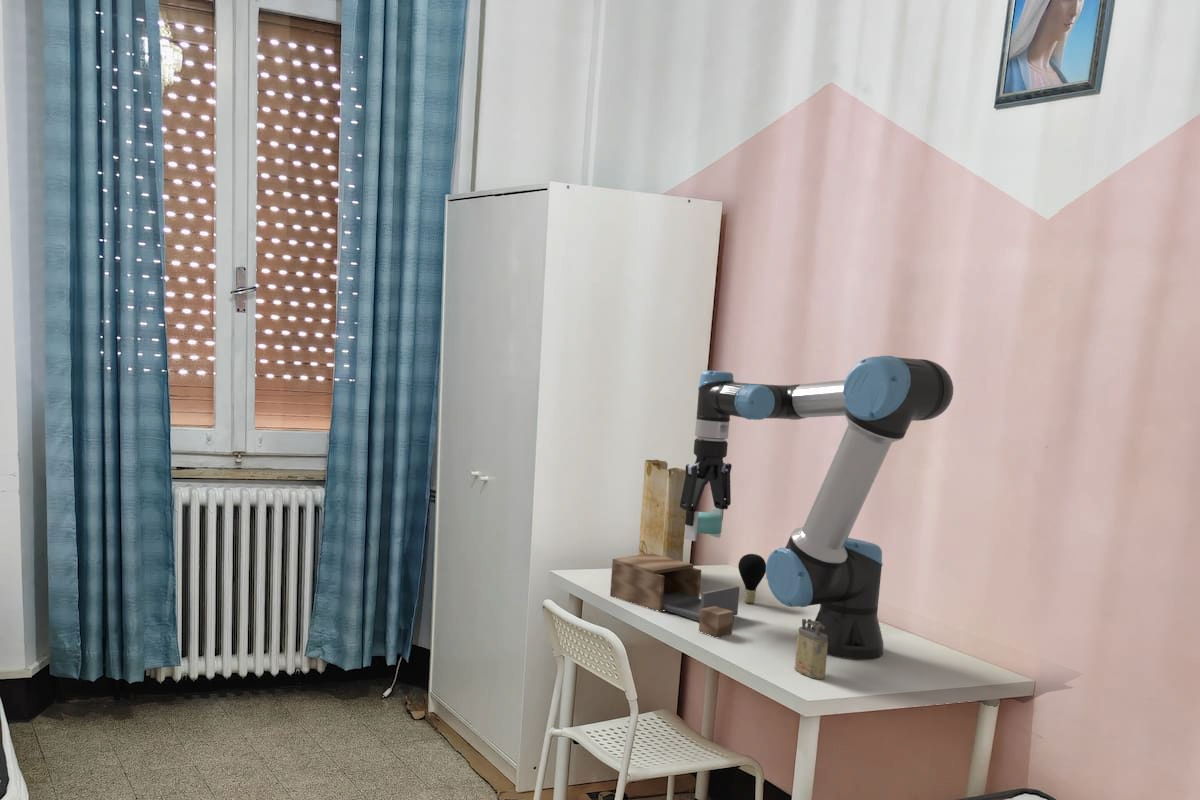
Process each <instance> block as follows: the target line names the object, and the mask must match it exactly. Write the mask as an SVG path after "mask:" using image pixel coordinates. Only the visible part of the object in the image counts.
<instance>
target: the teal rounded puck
mask: <svg viewBox="0 0 1200 800" xmlns="http://www.w3.org/2000/svg"><path fill="white" fill-rule="evenodd" d="M698 512H699V515H698V526H697V534H701V535H702V534H703V535H709V534H719V533H722V529H723V528H722V526H723V520H722V516H721V515H718V514H714V513H711V512H706V511H698Z"/></svg>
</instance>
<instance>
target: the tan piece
mask: <svg viewBox="0 0 1200 800" xmlns="http://www.w3.org/2000/svg"><path fill="white" fill-rule="evenodd" d="M668 465H669V464H668V462H667V461H665V460H659V459H647V460H645V461H644V473H643V483H642V484H643V486H642V497H641V498H642V499H641V510H640V512H641V513H640V525H639V529H640V530H639V540H638V541H639V542H638V555H644V554H651V553H653V554H657V555H660V556H664V557H668V558H671V559H675V560H679V561H683V559H684V544H685V532H686V524H685V520H686V510H683V509H682V508H680V502H681V497H682V492H683V487H684V481H685V476H686V469H684V468H679V467H671V468H668ZM683 562H684V561H683Z"/></svg>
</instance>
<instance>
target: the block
mask: <svg viewBox="0 0 1200 800" xmlns="http://www.w3.org/2000/svg"><path fill="white" fill-rule="evenodd" d="M698 622H699V624H698V632H699V631H700V632H703V633H706V634H709V635H711V636H710V637H712V636H714V637H713V638H715V637H719V638H722V636H724V637H726V635H728V636H732V635H731V634H732V633H733V623H734V616H733V611H730V610H727V609H724V608H720V607H717V606H713V607H708V608H703V609H700V621H698ZM700 632H699V633H700ZM703 633H702V634H703ZM706 634H705V635H706ZM709 635H708V636H709Z"/></svg>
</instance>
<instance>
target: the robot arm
mask: <svg viewBox="0 0 1200 800" xmlns="http://www.w3.org/2000/svg"><path fill="white" fill-rule="evenodd" d="M699 377H700V378H699V383H698V387H697V388H698V392H697V393H698V395H697V409H696V418H695V419H696V421H695V428H694V436H695V437H696V438H695V439H694V441H693V442H694V444H693V454H694V455H695V457H696V459H695V461H694V463H693V464H690V463H688V464H687V463H686V465H685V470H686V476H685V481H684V487H683V492H682V497H681V502H680V508H682V509H683V510H686V520H685V536H684V540H688V541H692V542H696V541H697V536H698V533H697V526H698V515H699V512H700V511H697V509H698V507H699V504H700V501H701V499H702V498H701V497H702V495H703V492H704V490H705V488H706V487H705V486H706V485H708V483H709V485H710V486H709V487H710V490H711V491H710V492H711V495H712V500H713V506H714V507H711V509H710V510H711V511H710V513H714V514H718V515H721V516H722V521H724V520H723V519H724V510H728V509H729V506H731V503H732V502H731V499H732V498H731V470H732V467H733V465H732V464H731V463H728V462H724V460H723V459H725V458H726V457H727V454H728V445H729V442H728V441H727V439H728V438H729V429H730V421H731V418H730V417H732V416H733V417H738V418H743V419H746V420H753V421H755V420H756V421H757V420H758V421H761V420H766V419H778V420H779V419H781V420H782V419H783V420H786V419H787V420H793V421H794V420H802V419H806V418H823V417H824V418H826V417H838V416H839V417H841V416H844V417H845V418H846V419H845V420H846V421H847V423H848V425H847V427H846V430H845V432H844V433H843V435H842V438H841V441H840V442H839V445H838V447H837V450H836V452H835V454H834V456H833V458H832V461H831V463H830V466H829V468H828V470H827V471H826V474H825V477H824V479H823V481H822V484H821V486H820V488H819V491H818V493H817V494H816V497H815V500H814V502H813V505H812V506H811V508H810V510H809V513H808V515H807V518H806V520H805V521H804V524H803V525H802V526H801V527H798V528H795V529H794V530H793V531H792V532H791V535H790V537H789V539H788V541H787V543H786V545H785V547H779V548H777V549H775V550H773V551H772V552H770V554H769V555H768V557H767V559H766V562H765V563H766V572H765V576H766V577H765V578H766V581H767V584H768V587H769V589H770V592H771V594H772V595H773V596H774V598H775V599H777V601H779V602H780V603H781V604H782V605H784V606H787V607H791V608H797V607H798V608H799V607H800V608H806V607H810V606H815V605H816V606H817V605H819V610H818V611H817V613H816V617H815V620H814V621H819V622H821V624H822V625H824V626H825V628H824V629H821V628H820V629H819V631H820V632H822V633H824V634H826V635H827V636H828V638H827V641H828V647H827V655H830V656H834V657H838V658H842V659H843V658H844V659H851V660H870V659H872V660H873V659H877V658H880V657H882V656H883V653H884V639H883V635H882V631H881V627H880V623H879V618H878V612H879V611H878V609H879V598H880V589H881V588H880V586H881V577H882V576H881V575H882V567H883V561H882V560H883V551H882V548H881V547H880V546H879V545H878V544H875V543H873V542H870V541H865V540H862V539H855V538H853V537H849V535H850V533H851V532H852V529H853V527H854V524H855V523H856V521H857V519H858V516H859V514H860V512H861V510H862V508H863V506H864V503H865V502H866V499H867V497H868V495H869V494H870V493H869V492H870V490H871V488H872V486H873V485H874V482H875V479H876V477H877V476H878V474H879V471H880V470H881V467H882V465H883V462H884V461H885V458H886V456H887V454H888V452H889V450H890V447H891V446H892V444H893V443H895V442H898V441H901V440H903V439H904V437H905V435H906V433H907V431H908V429H909V427H910V425H911V423H912V422H913V421H916V422H917V421H918V422H919V421H928V420H932V419H934V418H936V417H939V416H940V415H942V414H943V413H945V411H946V410H947V409H948V408H949V406H950V404H951V403H952V400H953V396H954V385H953V381H952V378H951V375H950V374H949V372H948V371H947V370H946V368H944V367H943V366H941V365H940V364H939V363H937V362H935V361H932V360H929V359H923V358H921V359H920V358H918V359H917V358H910V357H909V358H908V357H898V356H897V357H896V356H893V355H880V356H870V357H866V358H865V359H864V358H863V359H862V360H859V362H857V363H856V364H855V365H854V366H853V367H852V368H851V369H850V371H849V372H848V374H847V375H846V377H845V379H842V380H832V381H831V380H830V381H821V382H810V383H801V384H788V385H787V384H786V385H785V384H784V385H783V384H782V385H780V384H779V385H778V384H777V385H775V384H764V383H763V384H762V383H749V382H748V383H747V382H746V383H745V382H735V381H734V374H733V373H732V372H730V371H721V370H708V369H707V370H704V371H702V372H701V374H700V376H699ZM721 533H722V532H721ZM721 533H719V534H708V535H709V536H710V537H713V538H718V539H720V538H721V536H722V535H721ZM811 628H813V625H811ZM813 629H814V628H813Z"/></svg>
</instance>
